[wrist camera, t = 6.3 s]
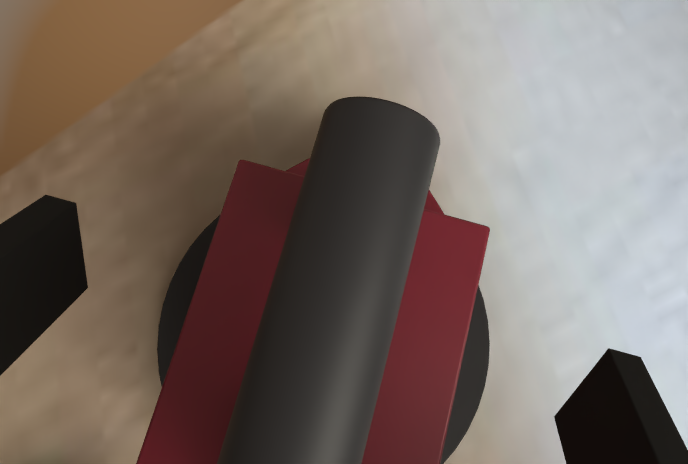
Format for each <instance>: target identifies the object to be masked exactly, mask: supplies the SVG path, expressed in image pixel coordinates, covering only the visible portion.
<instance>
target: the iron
mask: <svg viewBox="0 0 688 464" xmlns="http://www.w3.org/2000/svg"><path fill="white" fill-rule="evenodd" d="M439 145H440V137H439V133H438V131H437V129H436V127H435V126H434V125H433V124H432V123H431V122H430V121H429V120H428V119H427V118H425V117H424V116H422V115H421V114H419V113H418V112H416V111H414V110H412V109H410V108H408V107H406V106H403V105H400V104H398V103H394V102H391V101H387V100H383V99H378V98H372V97H348V98H342V99H339V100H336V101H334V102H333V103H331V104H330V105H329V106H328V107H327V108H326V110H325V112H324V114H323V118H322V121H321V124H320V127H319V131H318V134H317V137H316V141H315V144H314V147H313V150H312V154H311V157H310V158H309V159H307V160H305V161H303V162H301V163H299V164H297V165H296V166H294V167H292V168H290V169H288V170H286V171H282V170H279V169H275V168H271V167H268V166H264V165H260V164H257V163H253V162H249V161H246V160H240V161H239V162H238V165H237V168H236V171H235V174H234V177H233V180H232V183H231V186H230V189H229V192H228V194H227V197H226V200H225V203H224V206H223V209H222V212H221V215H220V218H219V221H218V224H217V227H216V230H215V233H214V236H213V239H212V242H211V245H210V248H209V251H208V253H207V256H206V259H205V262H204V265H203V268H202V271H201V274H200V277H199V280H198V283H197V286H196V289H195V292H194V295H193V298H192V301H191V304H190V307H189V309H188V312H187V315H186V318H185V321H184V324H183V327H182V330H181V333H180V336H179V339H178V342H177V345H176V348H175V351H174V354H173V357H172V360H171V363H170V366H169V368H168V371H167V374H166V377H165V380H164V383H163V386H162V389H161V392H160V395H159V398H158V401H157V404H156V407H155V410H154V413H153V416H152V419H151V422H150V425H149V427H148V430H147V433H146V436H145V439H144V442H143V445H142V448H141V451H140V454H139V457H138V460H137V463H136V464H440V462H441V457H442V453H443V448H444V443H445V439H446V434H447V429H448V424H449V420H450V415H451V410H452V406H453V401H454V396H455V392H456V387H457V382H458V377H459V373H460V368H461V363H462V359H463V354H464V349H465V345H466V340H467V335H468V330H469V326H470V321H471V316H472V312H473V307H474V302H475V298H476V293H477V288H478V283H479V279H480V274H481V269H482V265H483V260H484V255H485V251H486V246H487V241H488V236H489V232H490V229H489V227H487V226H484V225H480V224H477V223H473V222H469V221H466V220H462V219H458V218H455V217H451V216H447V215H444V213H443V211H442V210H441V208H440V206H439V205H438V203H437V202H436V200H435V198H434V197H433V195H432V194H431V192H430V190H429V186H430V182H431V178H432V174H433V170H434V166H435V162H436V158H437V154H438V149H439Z"/></svg>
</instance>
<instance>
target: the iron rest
mask: <svg viewBox="0 0 688 464" xmlns="http://www.w3.org/2000/svg"><path fill="white" fill-rule="evenodd" d="M219 218H220V215H219V216H218V217H217V218H216V219H215V220H214V221H213V222H212V223H211V224H210V225H209V226H208V227H207V228H205V229H204V231H203V232H202V233H201V234H200V235H199V237H198V238H197V239H196V240H195V242H194V243H193V244H192V245H191V246H190V248H189V250H188V251H187V253H186V254H185V256H184V257H183V259H182V261H181V262H180V264H179V266H178V268H177V270H176V272H175V274H174V276H173V278H172V280H171V283H170V285H169V288H168V291H167V294H166V297H165V300H164V303H163V308H162V313H161V318H160V323H159V332H158V348H157V351H158V365H159V375H160V380H161V385H162V386H163V383H164V380H165V377H166V374H167V371H168V368H169V366H170V363H171V360H172V357H173V354H174V351H175V348H176V345H177V342H178V339H179V336H180V333H181V330H182V327H183V324H184V321H185V318H186V315H187V312H188V309H189V307H190V304H191V301H192V298H193V295H194V292H195V289H196V286H197V283H198V280H199V277H200V274H201V271H202V268H203V265H204V262H205V259H206V256H207V253H208V251H209V248H210V245H211V242H212V239H213V236H214V233H215V230H216V227H217V224H218V221H219ZM488 363H489V330H488V320H487V315H486V310H485V305H484V300H483V297H482V294H481V291H480V288H479V285H478V288H477V293H476V298H475V302H474V307H473V312H472V316H471V321H470V326H469V330H468V335H467V340H466V345H465V349H464V354H463V359H462V363H461V368H460V373H459V377H458V382H457V387H456V392H455V396H454V401H453V406H452V410H451V415H450V420H449V424H448V429H447V434H446V439H445V443H444V448H443V453H442V457H441V462H440V464H443V463H444V462H445V461H446V460H447V459H448V458H449V456H450V455H451V454H452V453H453V452H454V450H455V449H456V448H457V446H458V445H459V443H460V441H461V440H462V438H463V437H464V435H465V434H466V432H467V430H468V429H469V426H470V424H471V422H472V420H473V418H474V416H475V414H476V411H477V409H478V406H479V403H480V400H481V397H482V394H483V390H484V387H485V381H486V376H487V370H488Z"/></svg>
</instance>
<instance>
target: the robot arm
mask: <svg viewBox="0 0 688 464" xmlns="http://www.w3.org/2000/svg"><path fill="white" fill-rule="evenodd" d="M87 288H88V285H87V278H86V271H85V263H84V256H83V249H82V242H81V235H80V228H79V221H78V213H77V206H76V203H74V202H70V201H67V200H63V199H59V198H56V197H52V196H48V195H45V196H43V197H42V198H40V199H38V200H37V201H35V202H34V203H32V204H31V205H29V206H28V207H26V208H25V209H23V210H22V211H20V212H18V213H17V214H15V215H14V216H12V217H11V218H9V219H8V220H6V221H5V222H3V223H2V224H0V375H1V374H2V373H3V372H4V371H5V370H6V369H7V368H8V367H9V366H10V365H11V364H12V363H13V362H14V361H15V360H16V359H17V358H18V357H19V356H20V355H21V354H22V353H23V352H24V351H25V350H26V349H27V348H28V347H29V346H30V345H31V344H32V343H33V342H34V341H35V340H36V339H37V338H38V337H39V336H40V335H41V334H42V333H43V332H44V331H45V330H46V329H47V328H48V327H49V326H50V325H51V324H52V323H53V322H54V321H55V320H56V319H57V318H58V317H59V316H60V315H61V314H62V313H63V312H64V311H65V310H66V309H67V308H68V307H69V306H70V305H71V304H72V303H73V302H74V301H75V300H76V299H77V298H78V297H79V296H80V295H81V294H82V293H83V292H84V291H85V290H86V289H87ZM554 418H555V421H556V425H557V429H558V433H559V437H560V441H561V444H562V448H563V452H564V456H565V460H566V464H688V450H687V448H686V446H685V444H684V442H683V440H682V438H681V436H680V434H679V432H678V430H677V428H676V426H675V424H674V422H673V420H672V418H671V416H670V414H669V412H668V410H667V408H666V406H665V404H664V402H663V400H662V399H661V397H660V395H659V393H658V391H657V389H656V387H655V385H654V383H653V381H652V379H651V377H650V375H649V373H648V371H647V369H646V367H645V365H644V363H643V361H642V359H641V357H638V356H635V355H631V354H627V353H624V352H620V351H616V350H613V349H608V350H607V351H606V352H605V354H604V355H603V356H602V357H601V359H600V360H599V361H598V362H597V364H596V365H595V366H594V367H593V369H592V370H591V371H590V373H589V374H588V375H587V376H586V378H585V379H584V380H583V381H582V383H581V384H580V385H579V386H578V388H577V389H576V390H575V391H574V393H573V394H572V395H571V396H570V398H569V399H568V400H567V401H566V403H565V404H564V405H563V406H562V408H561V409H560V410H559V411H558V413H557V414H556V415H555V416H554Z"/></svg>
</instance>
